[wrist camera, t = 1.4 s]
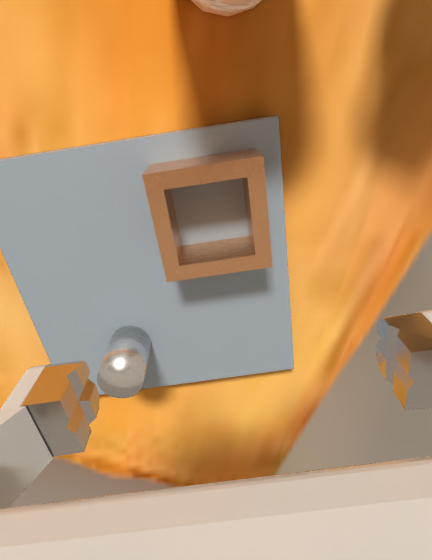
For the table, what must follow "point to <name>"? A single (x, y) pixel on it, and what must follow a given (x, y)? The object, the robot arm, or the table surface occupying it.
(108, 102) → the table surface
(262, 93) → the table surface
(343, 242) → the table surface
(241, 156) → the collar
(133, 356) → the piston
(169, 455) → the table surface
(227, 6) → the white cup
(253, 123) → the plate
